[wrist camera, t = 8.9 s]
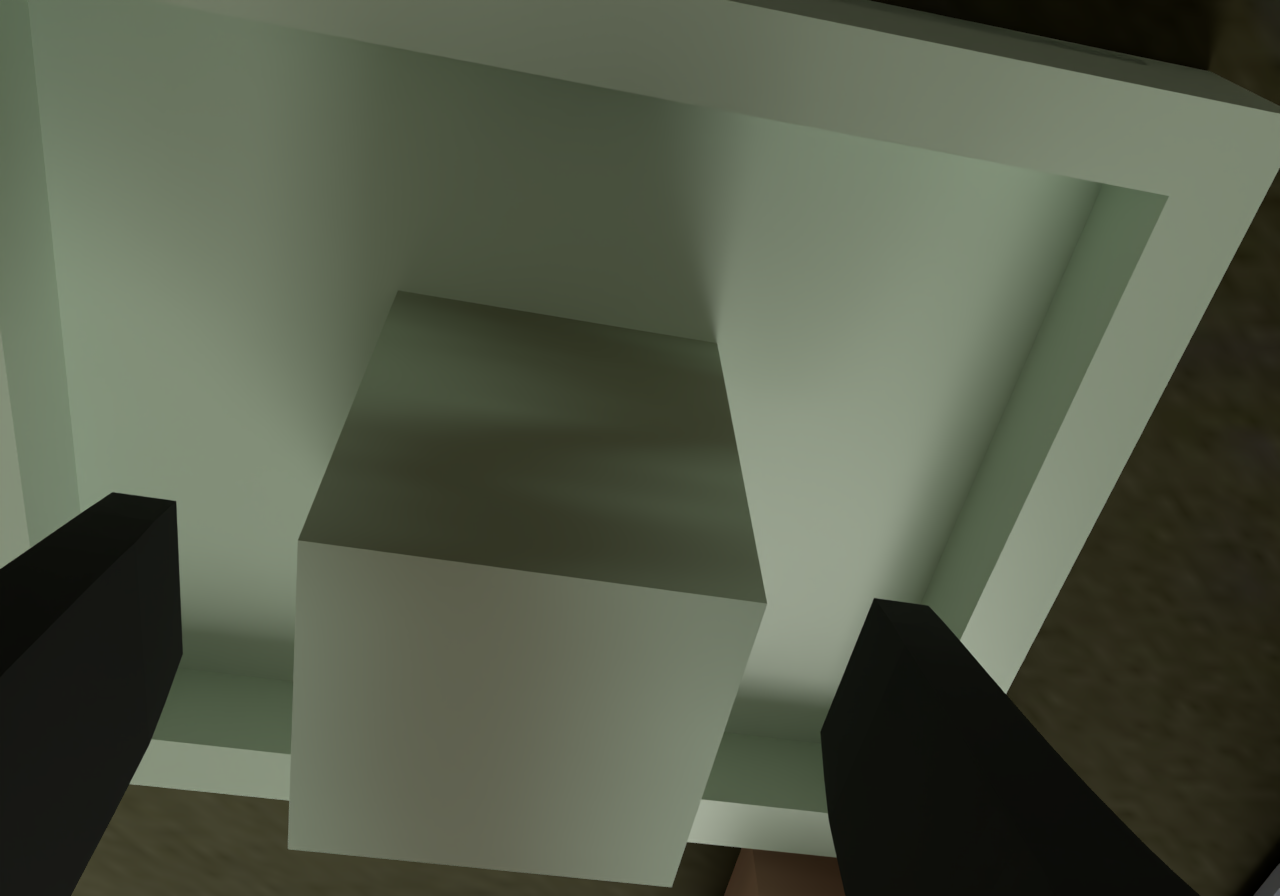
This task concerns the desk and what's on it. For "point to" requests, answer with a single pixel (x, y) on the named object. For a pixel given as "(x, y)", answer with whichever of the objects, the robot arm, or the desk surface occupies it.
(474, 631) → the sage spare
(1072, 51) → the sage tray
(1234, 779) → the desk surface
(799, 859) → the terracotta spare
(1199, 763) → the desk surface
